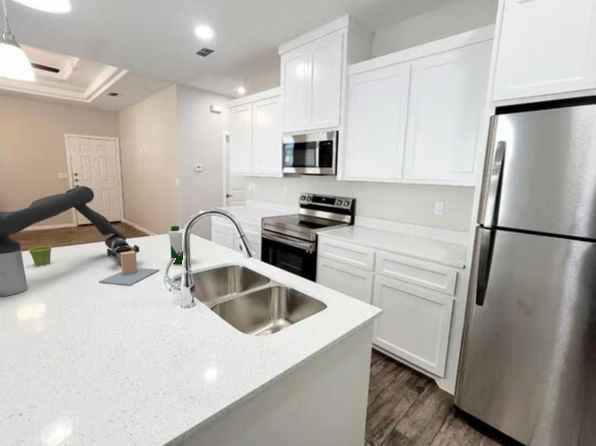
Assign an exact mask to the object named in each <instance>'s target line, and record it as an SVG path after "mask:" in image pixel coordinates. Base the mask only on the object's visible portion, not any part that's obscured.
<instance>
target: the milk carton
mask: <svg viewBox="0 0 596 446" xmlns="http://www.w3.org/2000/svg"><path fill="white" fill-rule="evenodd" d="M183 229H184V228H180V226H179V225H173V226H171V227H170V230H169V231H167V233H168V237H169V243H170V244H169V245H170V260H171V259H172V258H176V260H175V262H174V263H173V264H172V265H177V266H183V265H182V260H183V251H182V231H183Z"/></svg>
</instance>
